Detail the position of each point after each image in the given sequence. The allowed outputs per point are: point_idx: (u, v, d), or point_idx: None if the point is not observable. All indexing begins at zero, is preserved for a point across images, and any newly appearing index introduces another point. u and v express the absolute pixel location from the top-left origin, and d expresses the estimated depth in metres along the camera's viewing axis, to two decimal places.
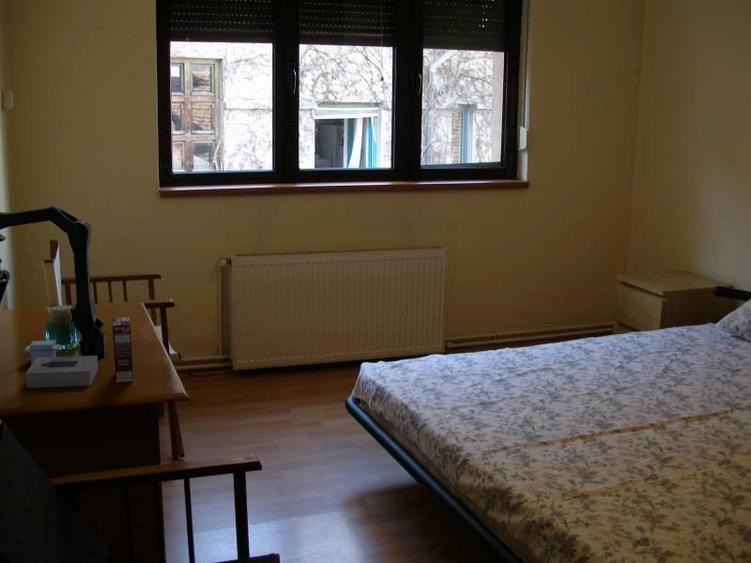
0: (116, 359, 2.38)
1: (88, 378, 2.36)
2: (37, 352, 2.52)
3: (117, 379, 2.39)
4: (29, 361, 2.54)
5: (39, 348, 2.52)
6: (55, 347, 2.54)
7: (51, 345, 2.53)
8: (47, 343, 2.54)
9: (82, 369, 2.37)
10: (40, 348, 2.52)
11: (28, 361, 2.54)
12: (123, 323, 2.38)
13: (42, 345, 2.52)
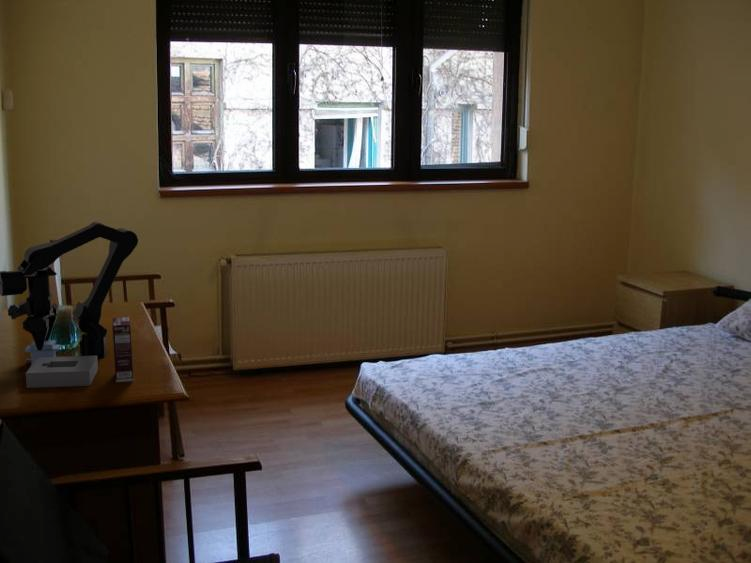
0: (116, 359, 2.38)
1: (88, 378, 2.36)
2: (37, 352, 2.52)
3: (117, 379, 2.39)
4: (29, 361, 2.54)
5: None
6: (55, 347, 2.54)
7: (51, 345, 2.53)
8: (47, 343, 2.54)
9: (82, 369, 2.37)
10: None
11: (28, 361, 2.54)
12: (124, 323, 2.38)
13: None
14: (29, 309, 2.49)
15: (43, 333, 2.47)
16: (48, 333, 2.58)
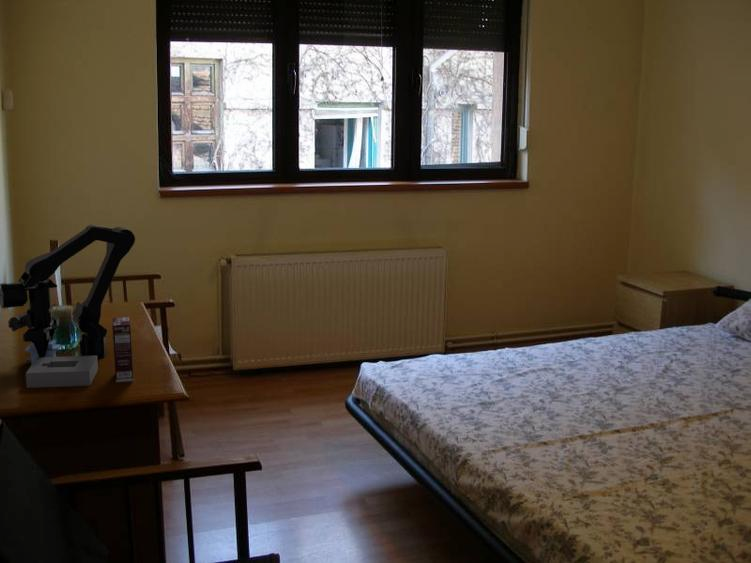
0: (116, 359, 2.38)
1: (88, 378, 2.36)
2: None
3: (117, 379, 2.39)
4: (29, 361, 2.54)
5: None
6: (55, 347, 2.54)
7: (51, 345, 2.53)
8: None
9: (82, 369, 2.37)
10: None
11: (28, 361, 2.54)
12: (124, 323, 2.38)
13: None
14: (30, 321, 2.49)
15: (45, 343, 2.50)
16: None
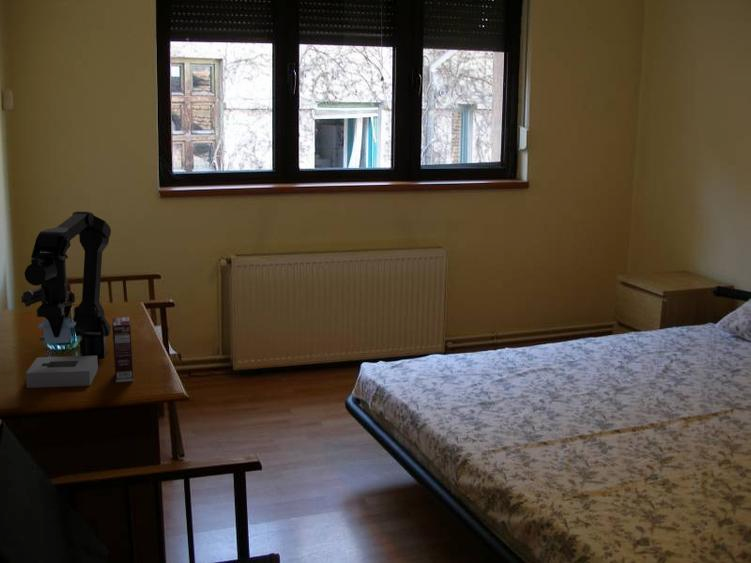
0: (116, 359, 2.38)
1: (88, 378, 2.36)
2: (51, 329, 2.38)
3: (117, 379, 2.39)
4: (42, 339, 2.40)
5: None
6: (70, 324, 2.40)
7: (66, 322, 2.38)
8: None
9: (82, 369, 2.37)
10: None
11: (41, 339, 2.39)
12: (123, 323, 2.38)
13: None
14: (44, 296, 2.35)
15: (60, 319, 2.36)
16: None
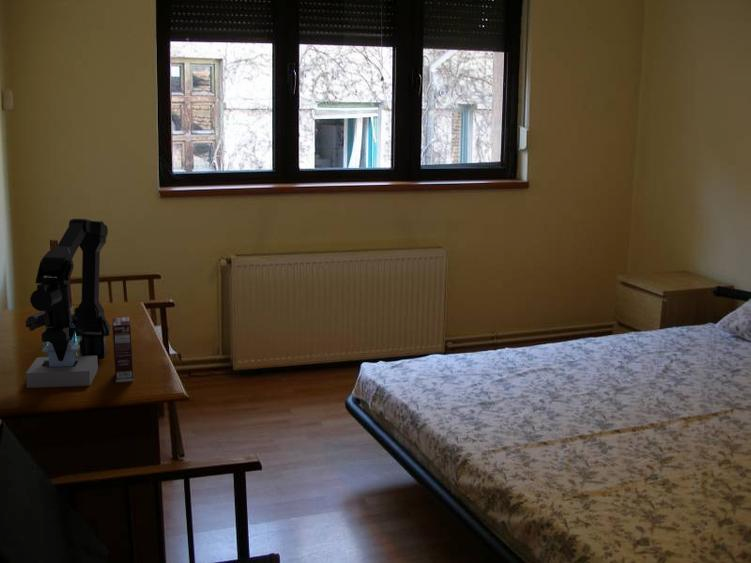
0: (116, 359, 2.38)
1: (88, 378, 2.36)
2: (55, 352, 2.38)
3: (117, 379, 2.39)
4: (47, 362, 2.40)
5: None
6: (74, 347, 2.40)
7: (70, 345, 2.39)
8: None
9: (82, 369, 2.37)
10: None
11: (45, 362, 2.40)
12: (124, 323, 2.38)
13: None
14: (48, 320, 2.35)
15: (64, 343, 2.36)
16: None
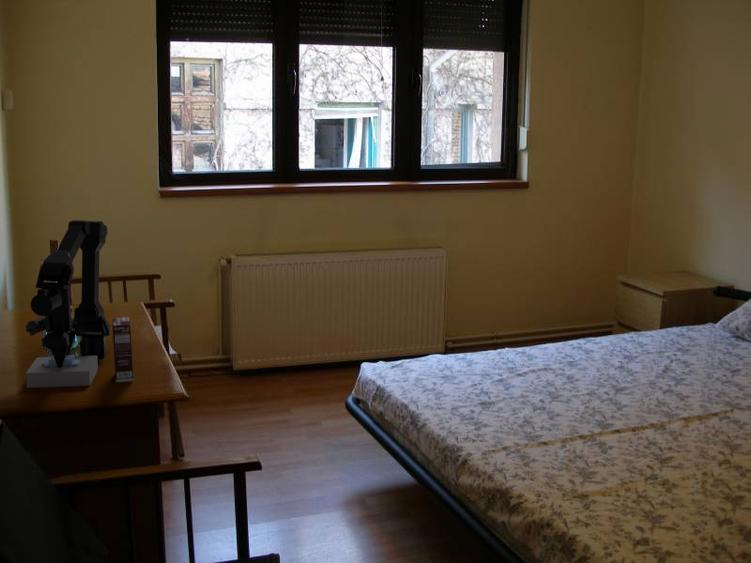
0: (116, 359, 2.38)
1: (88, 378, 2.36)
2: None
3: (117, 379, 2.39)
4: None
5: None
6: (75, 362, 2.41)
7: (71, 360, 2.39)
8: (67, 358, 2.40)
9: (82, 369, 2.37)
10: None
11: None
12: (124, 323, 2.38)
13: None
14: (48, 325, 2.36)
15: (64, 350, 2.35)
16: (67, 350, 2.44)
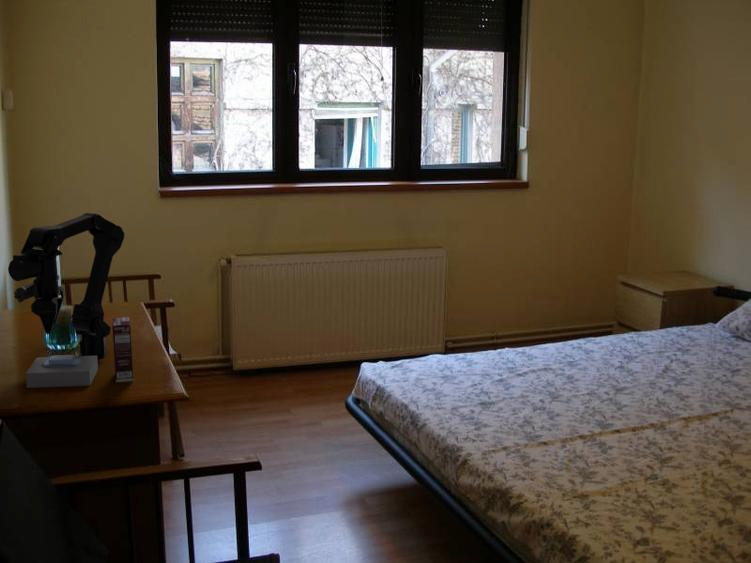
0: (116, 359, 2.38)
1: (88, 378, 2.36)
2: None
3: (117, 379, 2.39)
4: None
5: (58, 363, 2.39)
6: (75, 362, 2.41)
7: (71, 360, 2.39)
8: (67, 358, 2.40)
9: (82, 369, 2.37)
10: (59, 363, 2.39)
11: None
12: (123, 323, 2.38)
13: (61, 360, 2.39)
14: (36, 291, 2.41)
15: (52, 316, 2.40)
16: (55, 316, 2.51)
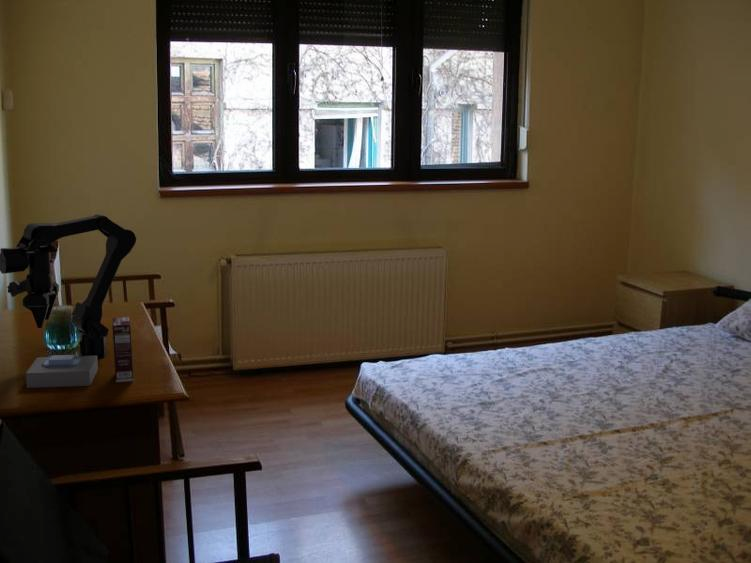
0: (116, 359, 2.38)
1: (88, 378, 2.36)
2: None
3: (117, 379, 2.39)
4: None
5: (58, 363, 2.39)
6: (75, 362, 2.41)
7: (71, 360, 2.39)
8: (67, 358, 2.40)
9: (82, 369, 2.37)
10: (59, 363, 2.39)
11: None
12: (124, 323, 2.38)
13: (61, 360, 2.39)
14: (29, 286, 2.45)
15: (43, 310, 2.44)
16: (48, 311, 2.55)
